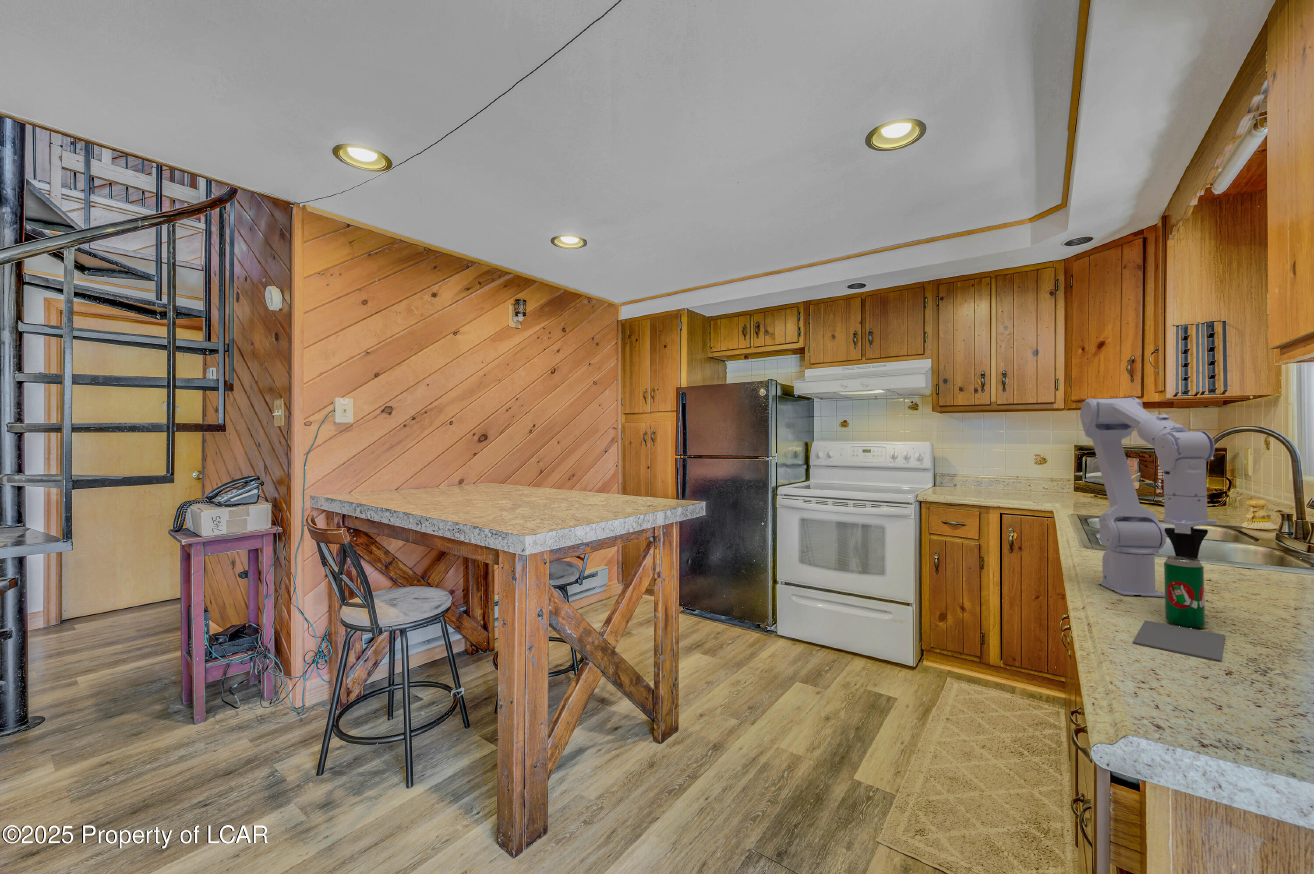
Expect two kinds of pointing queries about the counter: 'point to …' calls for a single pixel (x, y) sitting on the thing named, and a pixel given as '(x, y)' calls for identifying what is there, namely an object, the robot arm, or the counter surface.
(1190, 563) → the soda can
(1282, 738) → the counter surface
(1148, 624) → the mat
